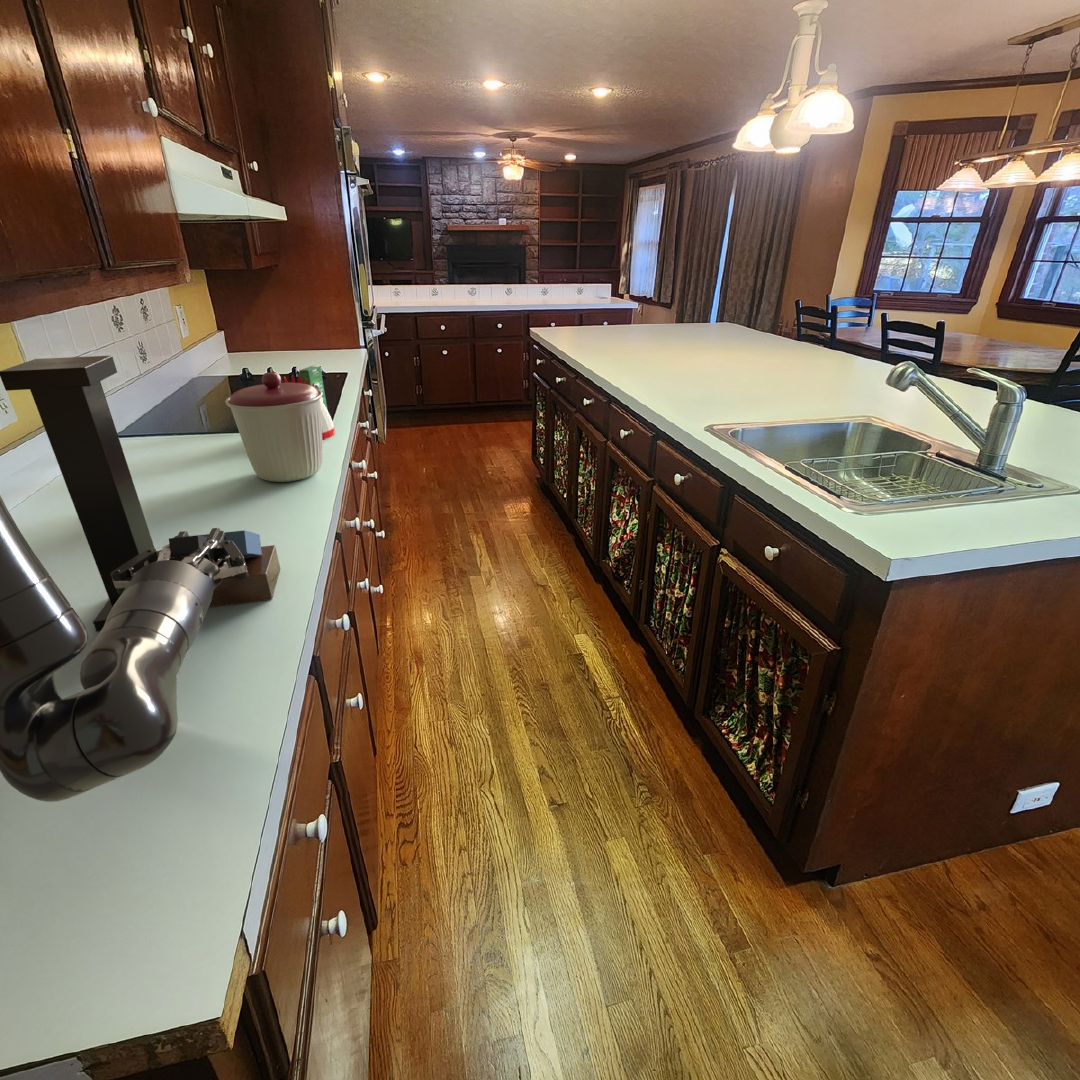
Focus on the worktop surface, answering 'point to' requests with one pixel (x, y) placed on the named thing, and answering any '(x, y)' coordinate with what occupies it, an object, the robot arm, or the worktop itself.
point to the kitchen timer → (325, 416)
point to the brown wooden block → (250, 580)
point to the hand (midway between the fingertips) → (201, 536)
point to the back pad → (242, 539)
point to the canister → (280, 428)
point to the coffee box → (314, 379)
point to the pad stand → (88, 458)
